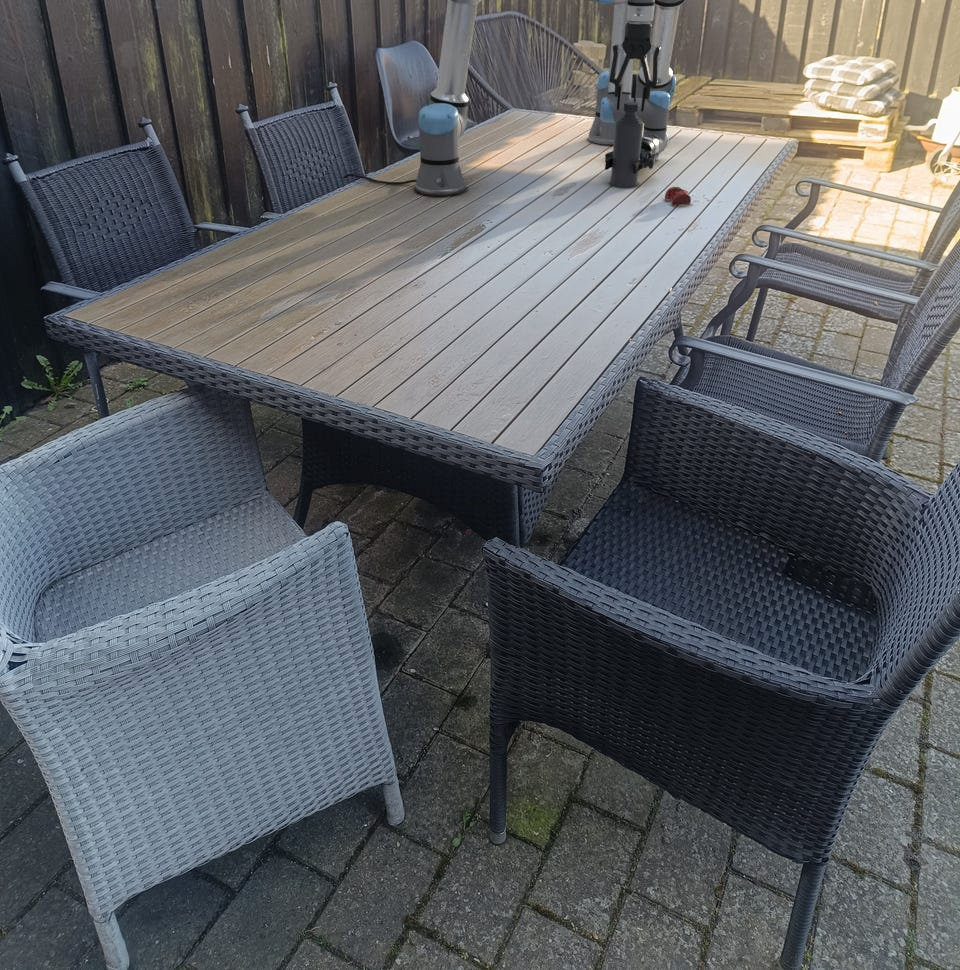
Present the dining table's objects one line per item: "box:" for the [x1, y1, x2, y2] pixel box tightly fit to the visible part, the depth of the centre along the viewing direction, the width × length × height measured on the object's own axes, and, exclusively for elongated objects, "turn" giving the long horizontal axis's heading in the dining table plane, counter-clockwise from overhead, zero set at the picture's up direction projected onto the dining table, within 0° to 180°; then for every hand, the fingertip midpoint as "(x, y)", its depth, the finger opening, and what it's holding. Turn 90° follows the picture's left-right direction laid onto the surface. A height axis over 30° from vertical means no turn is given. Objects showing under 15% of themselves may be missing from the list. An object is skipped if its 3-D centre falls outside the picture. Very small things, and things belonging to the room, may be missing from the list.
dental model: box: [664, 186, 692, 206], centre depth 247 cm, size 6×4×8 cm
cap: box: [624, 102, 639, 112], centre depth 250 cm, size 4×4×2 cm
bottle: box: [609, 111, 644, 189], centre depth 257 cm, size 8×8×23 cm
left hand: (630, 109), depth 251 cm, fingers open, 7 cm apart
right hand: (620, 167), depth 257 cm, fingers closed on bottle, 8 cm apart
